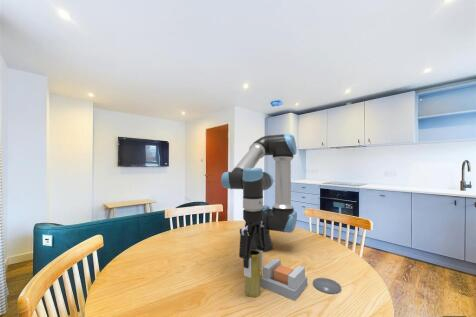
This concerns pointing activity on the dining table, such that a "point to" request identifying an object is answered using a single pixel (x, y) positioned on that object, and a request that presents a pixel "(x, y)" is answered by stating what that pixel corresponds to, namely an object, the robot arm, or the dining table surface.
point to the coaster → (326, 285)
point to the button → (282, 274)
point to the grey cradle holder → (292, 290)
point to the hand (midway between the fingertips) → (253, 271)
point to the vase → (253, 276)
